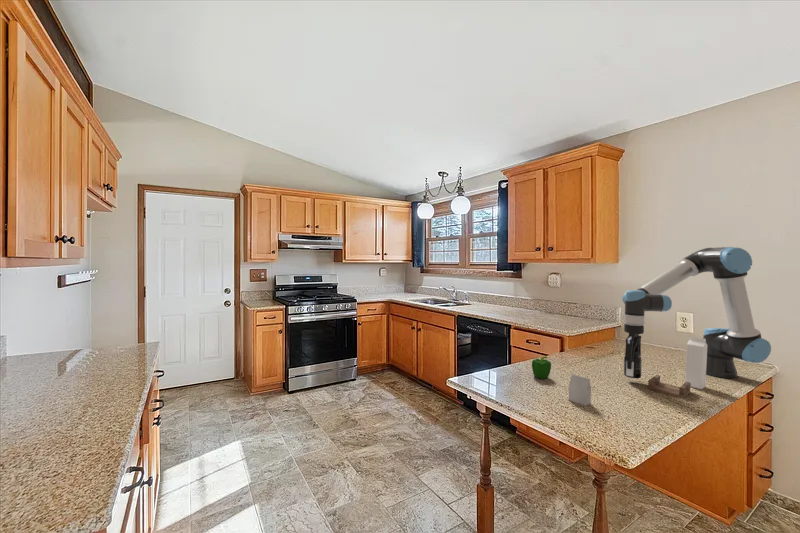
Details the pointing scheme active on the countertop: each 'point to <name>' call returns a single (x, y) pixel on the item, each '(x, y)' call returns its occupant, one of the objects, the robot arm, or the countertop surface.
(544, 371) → the bell pepper
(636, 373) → the supplement bottle
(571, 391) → the grey upright block
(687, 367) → the milk
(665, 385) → the u cradle
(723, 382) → the countertop surface
